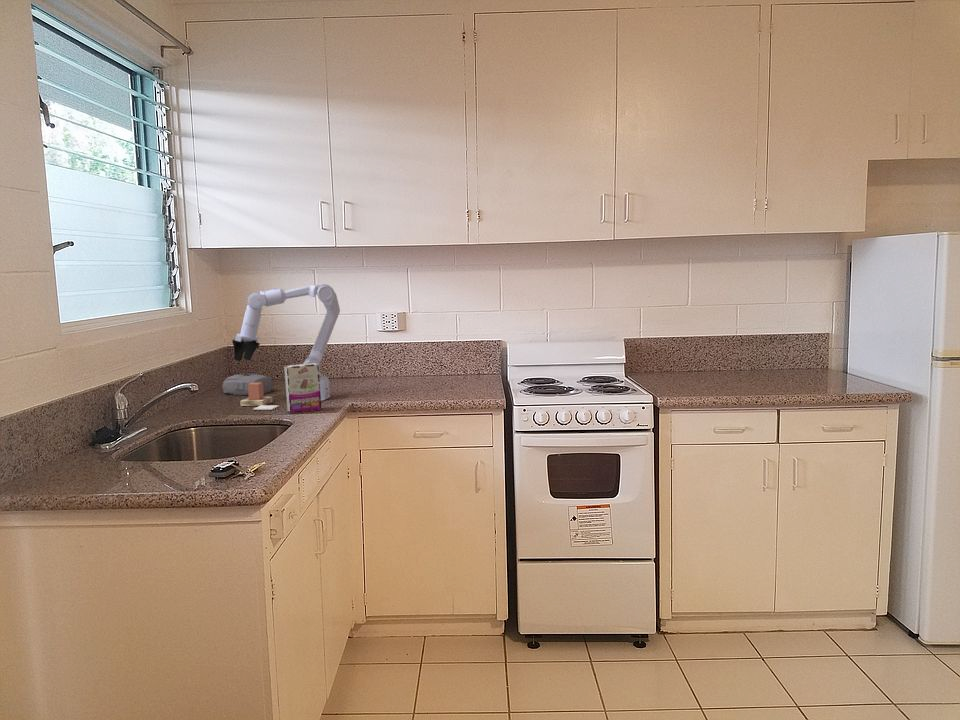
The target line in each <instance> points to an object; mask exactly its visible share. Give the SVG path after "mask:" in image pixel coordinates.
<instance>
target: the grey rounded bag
mask: <svg viewBox="0 0 960 720" xmlns="http://www.w3.org/2000/svg"><path fill="white" fill-rule="evenodd" d="M250 383H263V393H266V394H268V393H267V392H269V393H270V392H271V391H272V390H273V384H274V382H273V380H272V378H271V377H270V376H267V375H262V374H258V373H256V372H254V373H253V372H247V373H246V372H243V373H238V374H234V375H231V376H228V377H226V378H225V379H224V380H223V381H222V383H221V388H222V390H223V393H224V394H228V395H231V394H235V395H234V396H242V395H248V384H250ZM248 396H249V395H248Z"/></svg>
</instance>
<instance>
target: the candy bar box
mask: <svg viewBox="0 0 960 720" xmlns="http://www.w3.org/2000/svg"><path fill="white" fill-rule="evenodd" d="M283 366H284V380H285V392H286V393H285V394H286V406H287V412H288V411H289V412H290V413H289V412H288V413H289V414H294V413H293V412H299V413H303V412H302V411H307V412H312V411H311V410H316V411H321V410H322V401H321V394H320V380H319V366H318V364H317V363H309V364H303V363H300V364H291V365H290V364H289V365H283Z"/></svg>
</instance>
